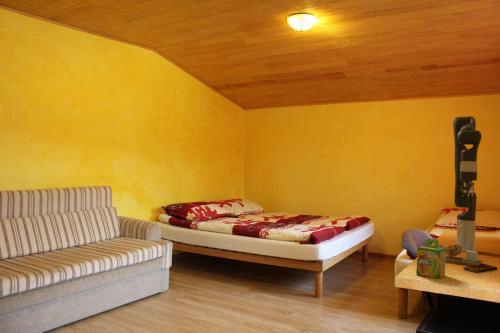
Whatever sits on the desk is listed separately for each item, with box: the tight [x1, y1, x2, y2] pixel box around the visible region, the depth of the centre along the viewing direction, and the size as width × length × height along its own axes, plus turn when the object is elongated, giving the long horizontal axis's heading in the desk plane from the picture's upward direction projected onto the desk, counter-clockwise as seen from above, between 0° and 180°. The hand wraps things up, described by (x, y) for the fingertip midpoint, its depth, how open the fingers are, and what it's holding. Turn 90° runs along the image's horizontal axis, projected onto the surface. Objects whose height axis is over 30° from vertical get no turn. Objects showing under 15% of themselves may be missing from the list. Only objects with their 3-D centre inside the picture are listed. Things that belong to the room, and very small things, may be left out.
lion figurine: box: [438, 243, 463, 259], centre depth 209 cm, size 15×5×9 cm, turn 42°
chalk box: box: [416, 238, 447, 280], centre depth 176 cm, size 9×9×15 cm
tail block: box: [465, 250, 478, 263], centre depth 201 cm, size 4×4×6 cm
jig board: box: [445, 254, 483, 267], centre depth 206 cm, size 12×22×2 cm, turn 51°
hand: (467, 203), depth 208 cm, fingers open, 8 cm apart
